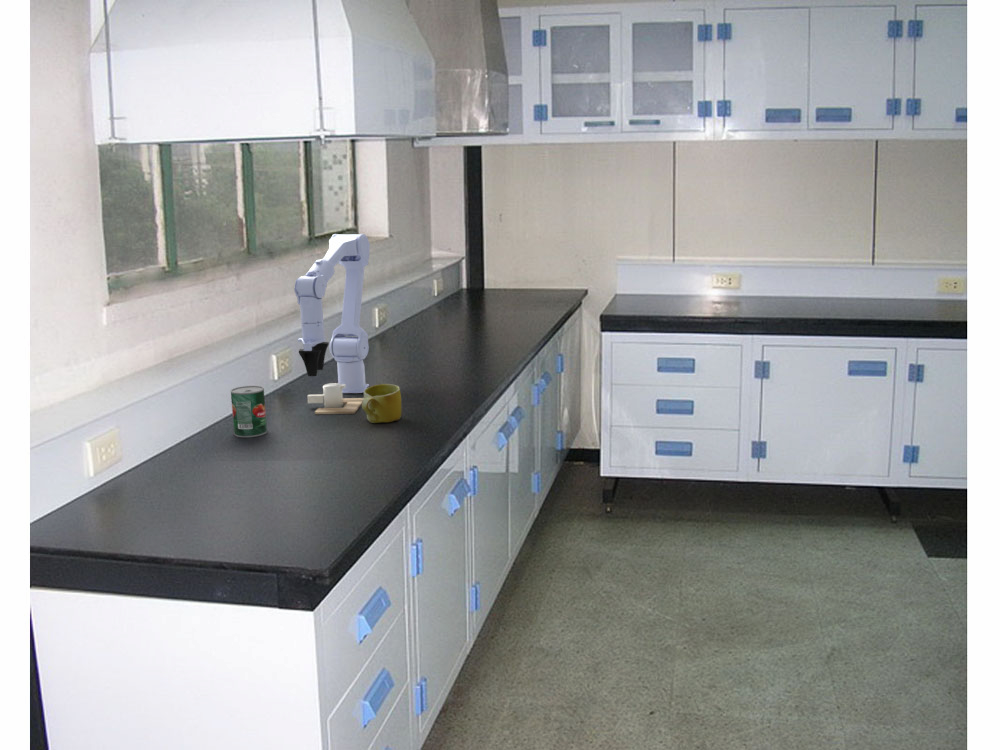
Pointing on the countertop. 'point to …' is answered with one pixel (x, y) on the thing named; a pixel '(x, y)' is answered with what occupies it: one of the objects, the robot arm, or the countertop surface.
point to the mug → (382, 403)
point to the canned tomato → (248, 411)
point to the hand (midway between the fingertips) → (315, 372)
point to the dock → (349, 408)
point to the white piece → (329, 396)
